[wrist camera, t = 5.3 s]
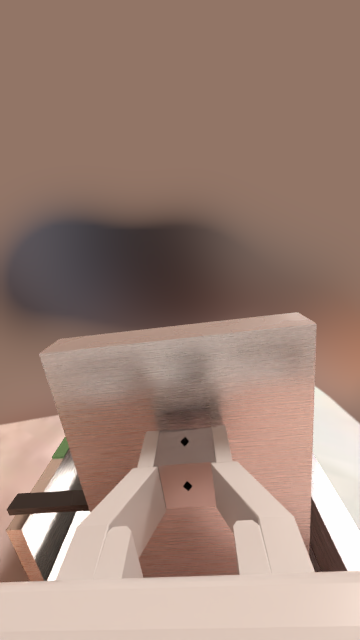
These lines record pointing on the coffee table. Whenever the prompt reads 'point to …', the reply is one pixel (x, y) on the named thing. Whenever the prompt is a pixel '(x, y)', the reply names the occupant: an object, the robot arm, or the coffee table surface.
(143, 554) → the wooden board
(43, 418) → the coffee table surface
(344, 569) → the gauge housing
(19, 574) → the coffee table surface
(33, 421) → the coffee table surface
